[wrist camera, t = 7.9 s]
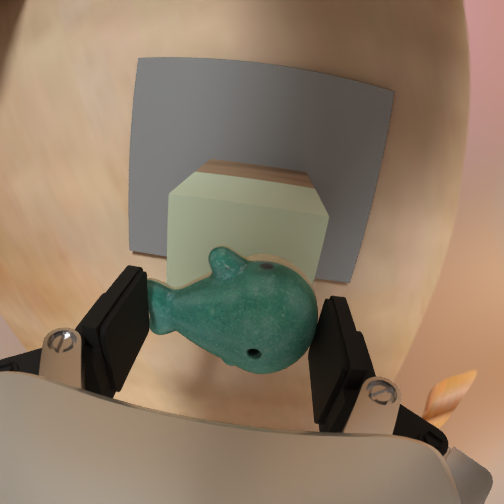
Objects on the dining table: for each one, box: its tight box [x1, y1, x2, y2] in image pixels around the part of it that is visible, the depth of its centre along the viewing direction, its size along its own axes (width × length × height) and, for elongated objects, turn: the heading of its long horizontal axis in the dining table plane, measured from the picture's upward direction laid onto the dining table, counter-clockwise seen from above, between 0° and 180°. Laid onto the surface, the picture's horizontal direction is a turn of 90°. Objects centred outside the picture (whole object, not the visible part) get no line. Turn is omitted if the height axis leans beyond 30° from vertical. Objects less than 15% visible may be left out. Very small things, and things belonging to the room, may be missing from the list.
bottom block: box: [195, 159, 315, 189], centre depth 22 cm, size 7×7×5 cm
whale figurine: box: [147, 245, 318, 374], centre depth 12 cm, size 6×7×4 cm
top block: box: [167, 172, 329, 288], centre depth 17 cm, size 7×7×5 cm
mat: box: [129, 57, 394, 283], centre depth 23 cm, size 16×19×1 cm
